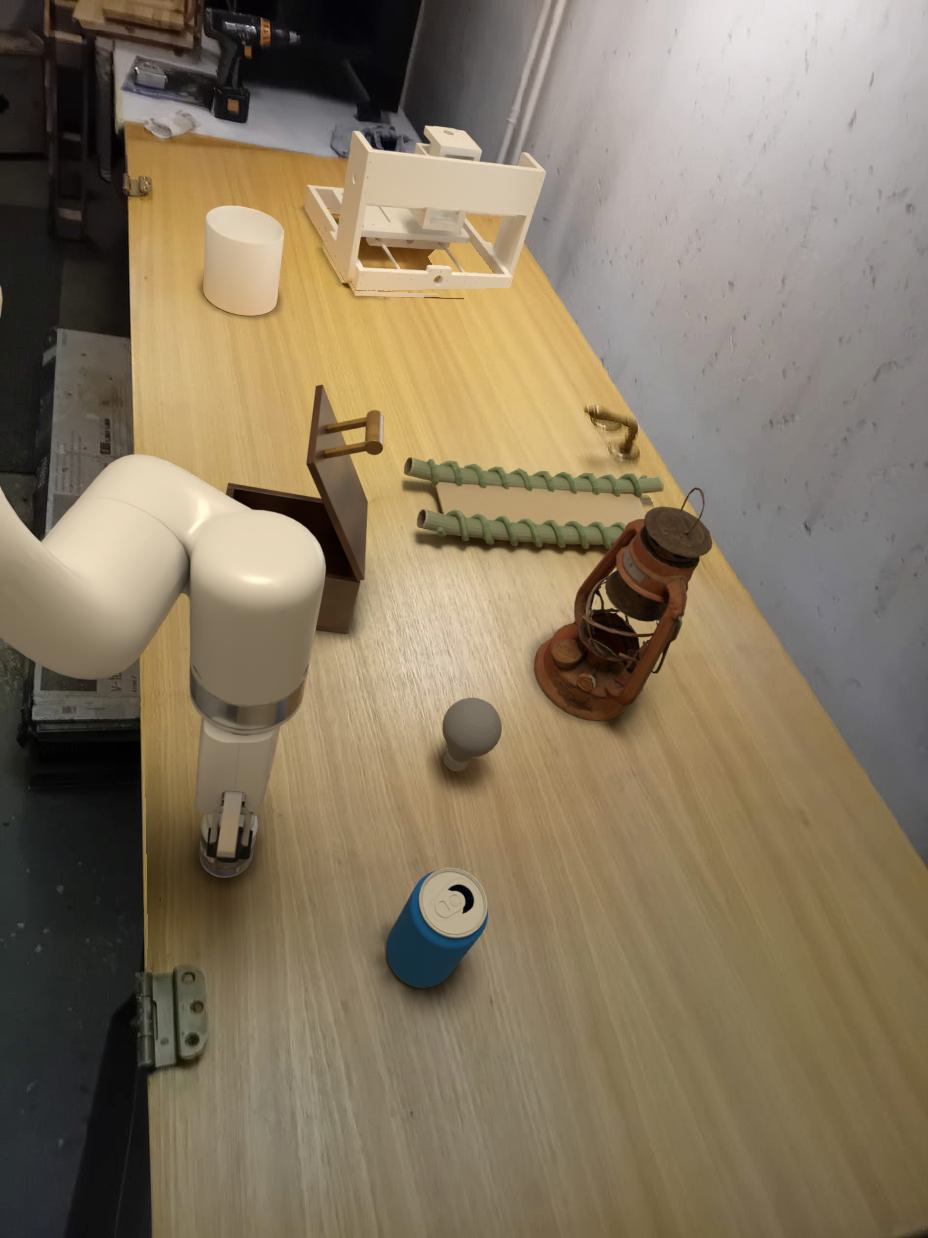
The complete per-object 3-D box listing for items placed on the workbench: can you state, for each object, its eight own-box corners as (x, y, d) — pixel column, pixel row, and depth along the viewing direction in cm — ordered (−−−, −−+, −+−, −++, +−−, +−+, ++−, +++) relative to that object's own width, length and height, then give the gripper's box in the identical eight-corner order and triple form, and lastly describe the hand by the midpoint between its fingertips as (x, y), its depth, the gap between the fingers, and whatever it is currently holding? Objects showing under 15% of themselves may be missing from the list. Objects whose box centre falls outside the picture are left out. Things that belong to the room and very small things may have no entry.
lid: (305, 463, 76) (374, 450, 75) (315, 385, 84) (377, 372, 83) (357, 581, 88) (417, 571, 87) (361, 503, 96) (416, 493, 95)
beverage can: (468, 966, 74) (508, 917, 65) (408, 1005, 70) (442, 958, 62) (430, 904, 77) (464, 849, 68) (371, 938, 73) (398, 885, 64)
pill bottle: (194, 836, 75) (196, 792, 69) (246, 825, 77) (253, 781, 71) (204, 885, 72) (207, 844, 66) (258, 871, 74) (266, 830, 68)
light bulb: (488, 783, 87) (517, 733, 80) (435, 791, 85) (460, 740, 77) (472, 735, 90) (498, 683, 83) (420, 741, 88) (443, 688, 81)
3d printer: (455, 218, 176) (483, 87, 157) (519, 300, 159) (558, 165, 140) (296, 213, 161) (306, 69, 142) (348, 303, 145) (366, 153, 126)
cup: (280, 286, 139) (288, 217, 131) (272, 322, 132) (280, 250, 123) (209, 270, 137) (212, 198, 128) (197, 305, 129) (199, 231, 120)
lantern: (515, 624, 103) (609, 434, 81) (605, 620, 108) (716, 440, 86) (559, 740, 93) (679, 558, 71) (655, 730, 98) (795, 557, 76)
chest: (208, 615, 91) (211, 561, 85) (224, 537, 99) (228, 482, 93) (347, 634, 95) (360, 583, 88) (352, 556, 103) (364, 505, 97)
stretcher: (415, 549, 107) (424, 522, 103) (398, 476, 115) (405, 448, 112) (681, 559, 120) (697, 535, 117) (647, 492, 129) (661, 468, 125)
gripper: (210, 573, 59) (206, 706, 72) (164, 786, 48) (168, 900, 60) (315, 587, 61) (292, 715, 73) (294, 796, 49) (272, 905, 62)
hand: (237, 798), depth 67 cm, fingers open, 9 cm apart
